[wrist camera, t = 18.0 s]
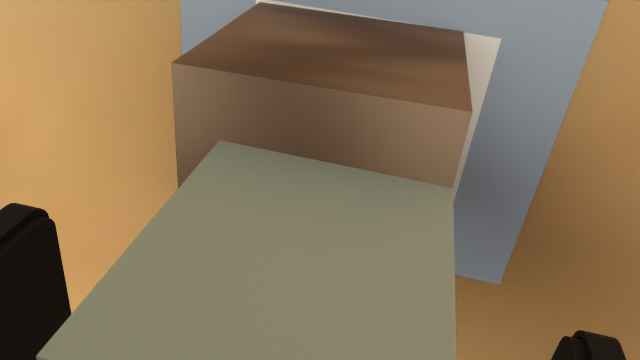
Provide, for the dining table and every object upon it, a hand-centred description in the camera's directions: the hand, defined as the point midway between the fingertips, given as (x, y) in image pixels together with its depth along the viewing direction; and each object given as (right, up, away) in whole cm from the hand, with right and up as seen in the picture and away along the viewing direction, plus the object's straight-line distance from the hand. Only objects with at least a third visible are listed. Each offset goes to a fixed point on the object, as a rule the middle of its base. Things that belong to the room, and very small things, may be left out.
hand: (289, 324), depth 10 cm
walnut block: (+1, +5, +7) cm, 9 cm away
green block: (+1, +1, +3) cm, 3 cm away
